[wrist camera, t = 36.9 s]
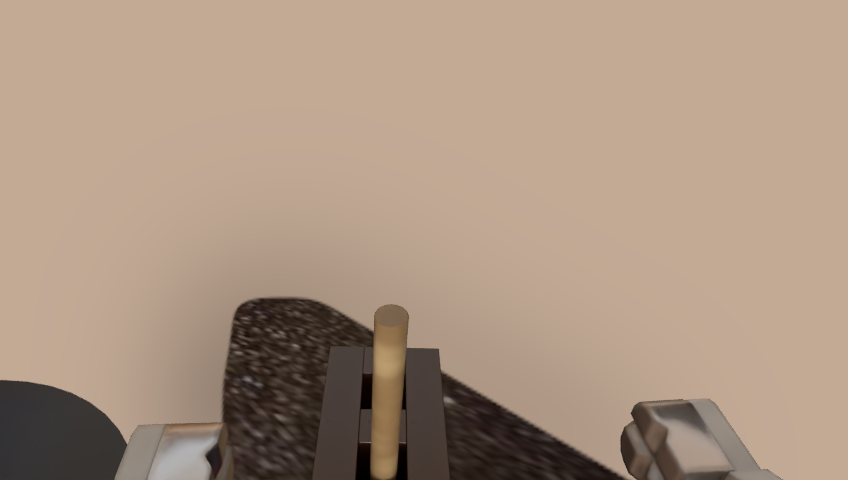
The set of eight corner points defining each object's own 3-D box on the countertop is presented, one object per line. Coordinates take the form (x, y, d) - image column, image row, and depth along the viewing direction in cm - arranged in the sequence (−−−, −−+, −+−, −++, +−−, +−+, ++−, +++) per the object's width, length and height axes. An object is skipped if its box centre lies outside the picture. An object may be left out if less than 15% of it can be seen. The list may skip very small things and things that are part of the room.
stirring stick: (367, 547, 36) (373, 326, 24) (368, 523, 37) (375, 303, 26) (391, 547, 36) (409, 327, 24) (392, 523, 37) (408, 304, 26)
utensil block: (310, 600, 33) (304, 533, 28) (332, 415, 44) (330, 346, 39) (441, 599, 33) (454, 532, 29) (430, 416, 44) (438, 348, 40)
